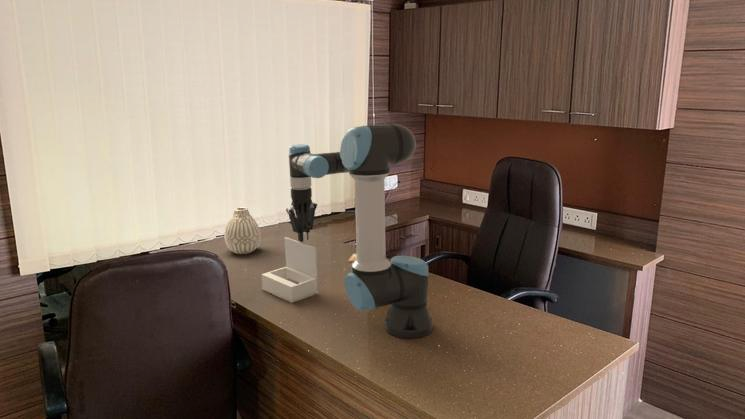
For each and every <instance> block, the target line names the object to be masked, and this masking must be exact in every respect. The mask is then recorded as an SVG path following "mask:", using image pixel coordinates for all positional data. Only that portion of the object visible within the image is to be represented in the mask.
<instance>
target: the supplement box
mask: <svg viewBox="0 0 745 419" xmlns="http://www.w3.org/2000/svg"><path fill="white" fill-rule="evenodd" d="M356 259H357V253H352V255H350V257H349V259H348V260H347V274H349V273H352V263H353V262H354V261H355V260H356Z"/></svg>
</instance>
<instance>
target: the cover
mask: <svg viewBox="0 0 745 419" xmlns="http://www.w3.org/2000/svg"><path fill="white" fill-rule="evenodd" d="M283 239H284V253H285V264H286V265H285V267H289V268H291V269H294V270H296V271H299V272H301V273H304V274H306V275H309V276H312V277H314V278H317V279H318V277H319V273H318V257H317V256H318V255H317V253H318V252H317V247H316V246H313V245H309V244H308V243H307V244H304V243H301V242H300V241H299V240H296V239H292V238H291V237H287V236H284V238H283Z"/></svg>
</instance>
